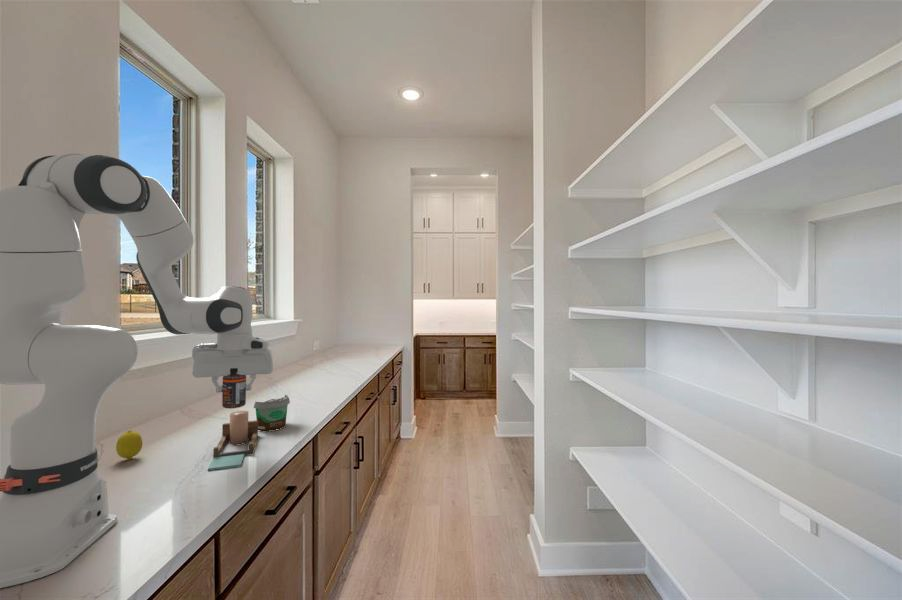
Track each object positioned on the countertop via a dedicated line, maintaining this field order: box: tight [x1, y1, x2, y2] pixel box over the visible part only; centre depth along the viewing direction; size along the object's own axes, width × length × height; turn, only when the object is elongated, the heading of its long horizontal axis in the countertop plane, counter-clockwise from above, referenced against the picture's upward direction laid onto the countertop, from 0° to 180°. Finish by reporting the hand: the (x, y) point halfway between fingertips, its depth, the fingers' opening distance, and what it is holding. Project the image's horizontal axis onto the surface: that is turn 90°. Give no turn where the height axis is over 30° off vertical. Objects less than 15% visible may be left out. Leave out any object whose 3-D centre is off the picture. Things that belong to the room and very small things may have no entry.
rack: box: [212, 419, 259, 459], centre depth 116 cm, size 16×10×5 cm, turn 22°
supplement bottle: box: [221, 368, 247, 409], centre depth 112 cm, size 6×6×11 cm
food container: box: [253, 394, 291, 432], centre depth 133 cm, size 12×6×10 cm, turn 148°
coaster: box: [207, 454, 245, 472], centre depth 104 cm, size 8×8×1 cm
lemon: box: [115, 429, 143, 460], centre depth 106 cm, size 6×6×8 cm
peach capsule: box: [229, 410, 249, 446], centre depth 120 cm, size 5×5×9 cm
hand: (234, 391), depth 112 cm, fingers closed on supplement bottle, 6 cm apart
